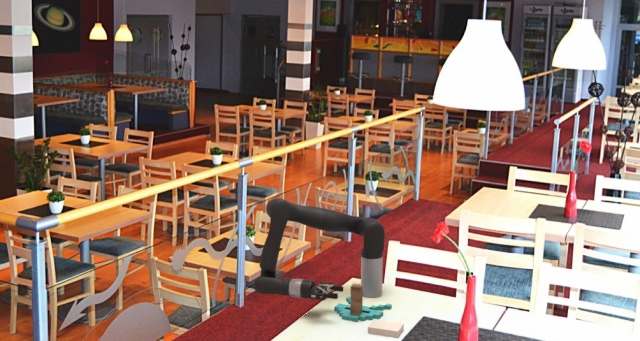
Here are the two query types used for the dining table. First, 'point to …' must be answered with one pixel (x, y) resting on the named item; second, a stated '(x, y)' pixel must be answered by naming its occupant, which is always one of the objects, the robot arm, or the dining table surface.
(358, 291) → the block
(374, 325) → the tile
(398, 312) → the dining table surface
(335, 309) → the alien figure
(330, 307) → the dining table surface
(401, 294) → the dining table surface
